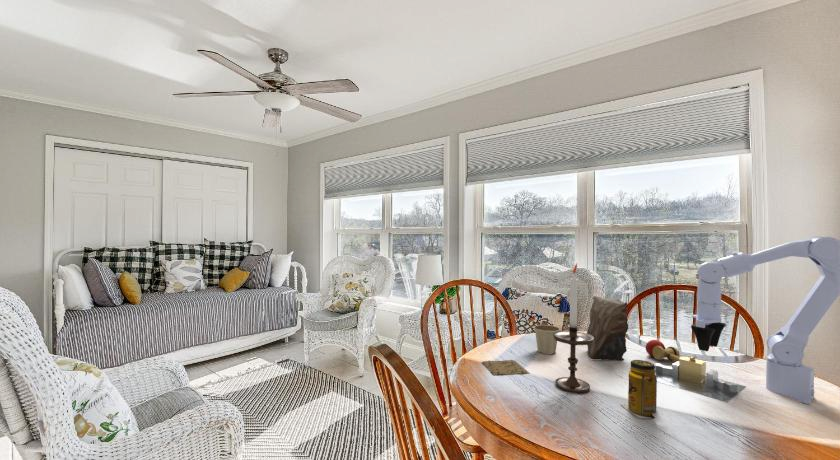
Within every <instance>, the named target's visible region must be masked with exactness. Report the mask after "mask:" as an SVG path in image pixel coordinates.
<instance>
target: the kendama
mask: <svg viewBox="0 0 840 460" xmlns="http://www.w3.org/2000/svg"><path fill="white" fill-rule="evenodd" d="M645 351H646V353H647V354H648V355H649V356H650V357H652V358H655V359H656V360H663V359H665V358H666V359H667V361H670V362H674V363H675V362H677V361H679V359H680V358H682V357H681V356H680V355H681V354H680V351H679V349H678V348H677V347H675V346H668V347H666V346H665V344H664V343H663V342H662V341H660V340H657V339H652V340H649V341H648V342H647V343H646V344H645Z"/></svg>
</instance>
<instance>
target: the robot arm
mask: <svg viewBox="0 0 840 460" xmlns="http://www.w3.org/2000/svg"><path fill="white" fill-rule="evenodd" d="M730 254H731V255H728V256H725V257H721V258H718V259H717V258H712V261H711V262H710V261H706V262H703V263H701V264H700V265H699V266H698V269H697V270H696V272H697V275H698V277H699V278H698V280H697V284H698V286H697V289H696V290H697V295H696V299H697V301H696V302H697V303H696V305H697V306H696V308H697V309H696V314H692V318H693V319H696V320H695V324H691V326H690V328H691V330H692V331H693V333H694V336H695V338H696V343H697V347H698V350H700V351H702V352H703V351H704V352H709V350H710V346H711V347H716V348H717V347H718V346H719V345H718V344H719V341H720V337H721V335H722V332H723V330H724V328H725V327H726V324H727V323H725V322H722V321H723V320H722V317H721V316H722V288H721V280H722V279H723V278H726V279H729V278H731V277H735V276H736V277H737V276H739V275H742V274H746V273H747V274H748V273H750V272H752V271H754V268H755V266H757V265H760V264H765V263H769V262H773V261H777V260H781V259H785V258H788V257H789V258H790V257H797V258H798V257H799V258H806V259H807V258H809V260H811V261H812V262H813V263H814V264H815V265H816V267H817V269H818V271H819V273H820V276H819V278H818V279H817V280H816V282H815V284H814V285H813V287H811V289H810V290H809V292H807V295H806V296H805V297H804V299H803V301H802V302H801V303H800V304H799V306H798V307H797V308H796V310H795V311H794V313H793V314H792V316H791V317H790V319H789V320H788V321H787V323H785V324H784V325H783V326H782V327H780V329H778V331H776V333H774V334H771V335H770V336H769V337H768V338H767V340H766V345H767V348H768V349H769V351H770V353H769V354H768V355H767V356H766V366H765V367H766V369H765V370H766V371H765V372H766V373H765V374H766V375H765V377H766V378H765V388H766V390H768V391H769V392H771V393H774V394H778V395H781V396H787V397H790V398H793V399H795V400H796V401H798V402H800V403H803V404H806V405H810V403H811V402H812V401H813V399H814V398H815V370H814V368H813V367H811V366H807V365H805V364H803V363H804V362H803V361H802V360H803V359H804V356H805V354H804V351H805V348H806V346H808V342H809V338H810V335H811V334H812V332H813V331H814V330H815V329H816V327H817V326H818V324H819V323H820V321H821V320H822V319H823V317H824V316H825V315H826V313H827V312H828V311H829V309H830V308H831V307H832V305H833V304H834V302H835V301H836V300H837V299H838V297H839V296H840V240H839V239H837V238H835V237H831V236H813V237H810V238H809V239H807V238H804V239H798V240H793V241H789V242H786V243H782V244H779V245H776V246H773V247H770V248H768V249H767V248H766V249H764V250H760V251H758V252H754V253H752V254H748V253H745V252H738V251H733V252H732V253H730Z"/></svg>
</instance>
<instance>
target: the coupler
mask: <svg viewBox="0 0 840 460" xmlns="http://www.w3.org/2000/svg"><path fill="white" fill-rule="evenodd" d="M706 368H707V361H705V360H701V359H696V357H694V356H689V357H688V356H682V357H681V358H680V359H679V378H682V379H686V380H690V381H693V382H697V383H700V384H702V383H703V382H705V381H706V373H707V369H706Z"/></svg>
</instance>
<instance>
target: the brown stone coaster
mask: <svg viewBox="0 0 840 460" xmlns="http://www.w3.org/2000/svg"><path fill="white" fill-rule="evenodd" d="M481 364H482V365H483V366H484V367H485V368H486V369H487V371H488V372H489V373H490V374H491V375H492V376H510V375H511V376H512V375H515V376H516V375H530V372H529V371H528V370H527V369H525V368H524V367H523V366H522V365H521V364H519V363H518V362H517V361H516V360H513V359H507V360H505V359H504V360H486V361H481Z"/></svg>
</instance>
